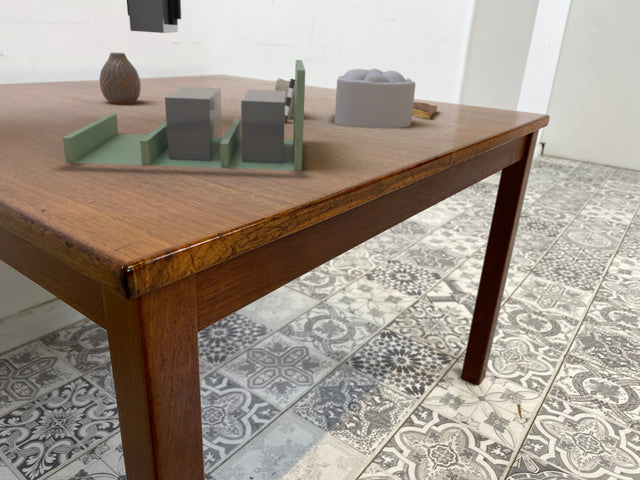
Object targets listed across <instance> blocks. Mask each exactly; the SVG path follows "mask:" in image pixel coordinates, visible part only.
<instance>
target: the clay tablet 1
mask: <svg viewBox="0 0 640 480" xmlns="http://www.w3.org/2000/svg"><path fill="white" fill-rule="evenodd" d="M164 105H165V106H164V108H165V121H166V124H167V140H168V156H169V159H174V160H203V161H211V159H212V158H213V156H214V154H215V152H216V151H217V149H218V147H219V146H220V143H221V142H222V138H223V126H222V125H223V124H222V121H223V120H222V119H223V118H222V88H221V87H205V86H203V87H201V86H182V87H180V88H179V89H176V90H175V91H173V92H172V93H170V94H168V95H167V96H165V97H164Z"/></svg>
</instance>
